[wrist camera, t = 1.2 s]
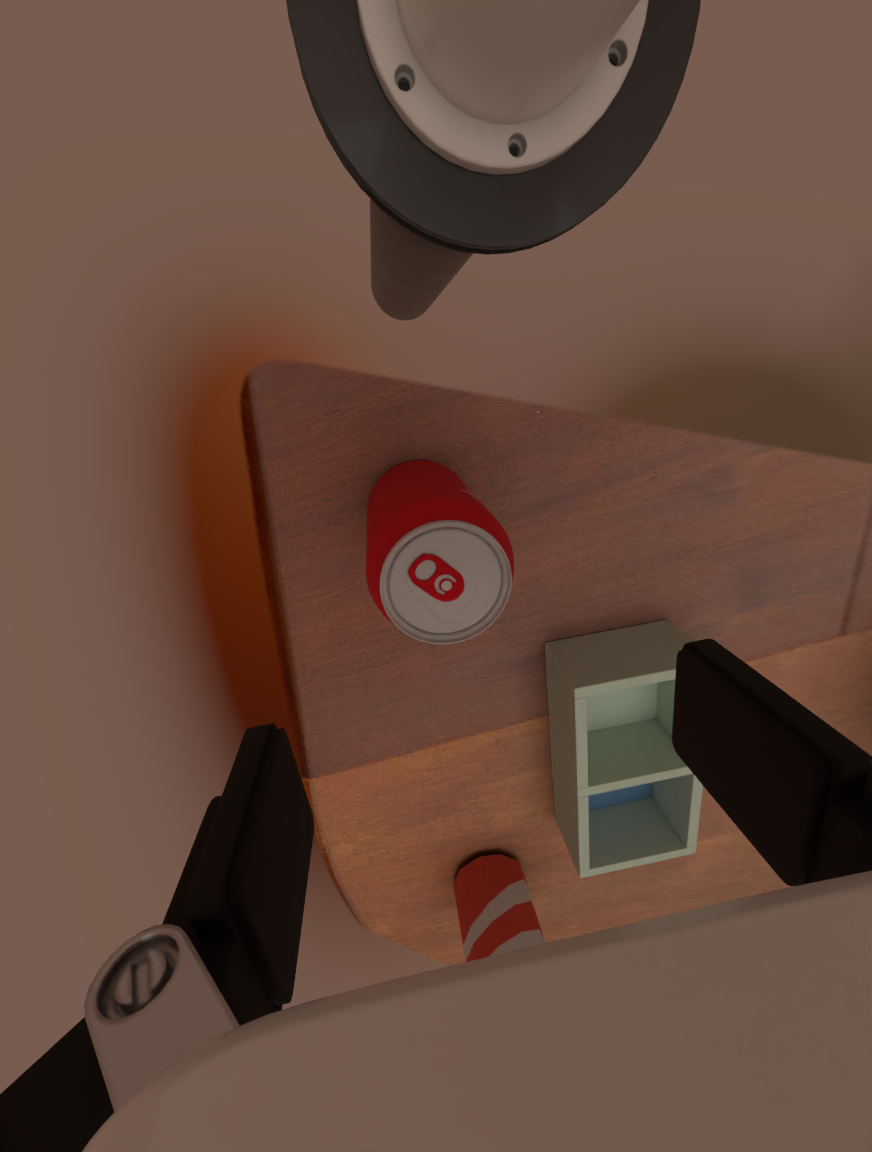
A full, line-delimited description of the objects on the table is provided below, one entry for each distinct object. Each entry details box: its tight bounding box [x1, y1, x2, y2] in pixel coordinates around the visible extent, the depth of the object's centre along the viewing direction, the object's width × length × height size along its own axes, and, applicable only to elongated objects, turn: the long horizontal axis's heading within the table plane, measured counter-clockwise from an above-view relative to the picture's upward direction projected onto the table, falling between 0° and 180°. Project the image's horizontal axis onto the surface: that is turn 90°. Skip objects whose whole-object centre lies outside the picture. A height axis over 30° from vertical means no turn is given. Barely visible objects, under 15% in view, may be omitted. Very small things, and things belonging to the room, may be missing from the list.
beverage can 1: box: [366, 460, 514, 645], centre depth 24 cm, size 6×6×12 cm
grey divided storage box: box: [545, 620, 703, 878], centre depth 36 cm, size 18×9×6 cm, turn 8°
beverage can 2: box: [454, 854, 545, 962], centre depth 37 cm, size 6×6×12 cm
